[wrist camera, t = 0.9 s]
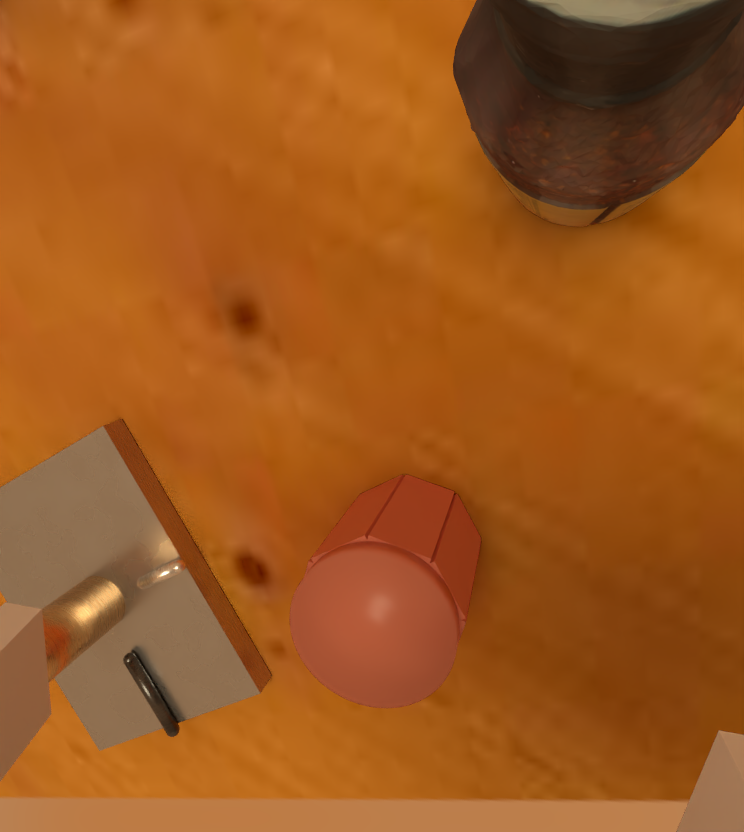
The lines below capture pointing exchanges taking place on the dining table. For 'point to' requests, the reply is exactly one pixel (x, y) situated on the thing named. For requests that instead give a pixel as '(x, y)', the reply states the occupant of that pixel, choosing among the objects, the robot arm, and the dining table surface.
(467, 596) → the wire nut
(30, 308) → the dining table surface
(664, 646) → the dining table surface
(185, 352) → the dining table surface
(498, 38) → the sauce bottle
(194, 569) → the plate
